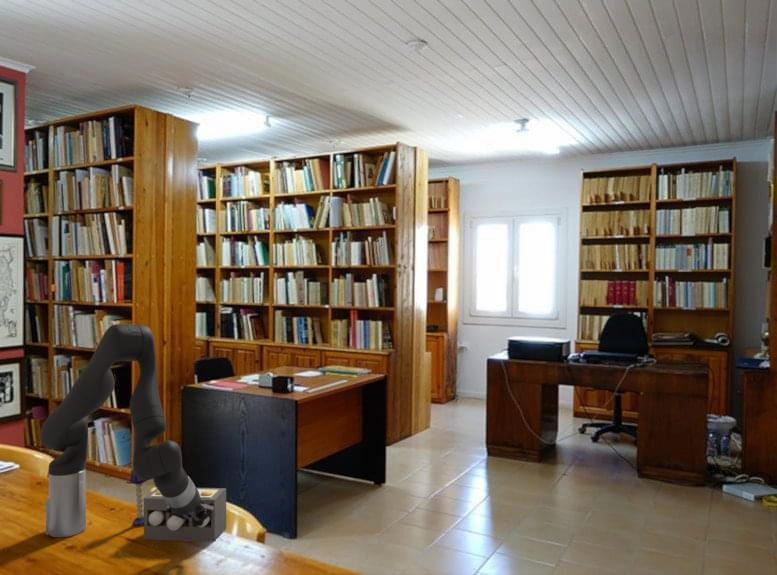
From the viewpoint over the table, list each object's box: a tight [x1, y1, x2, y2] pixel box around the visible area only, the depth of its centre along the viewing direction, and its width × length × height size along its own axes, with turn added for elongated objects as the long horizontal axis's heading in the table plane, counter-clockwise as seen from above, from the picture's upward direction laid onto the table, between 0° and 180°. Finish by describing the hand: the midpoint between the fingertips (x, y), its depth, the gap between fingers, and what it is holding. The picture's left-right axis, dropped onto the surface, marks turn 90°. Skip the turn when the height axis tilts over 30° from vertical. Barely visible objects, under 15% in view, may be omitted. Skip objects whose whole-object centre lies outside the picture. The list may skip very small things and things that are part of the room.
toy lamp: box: [129, 468, 147, 527], centre depth 173 cm, size 5×5×17 cm
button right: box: [198, 515, 211, 527], centre depth 164 cm, size 4×6×4 cm, turn 176°
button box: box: [143, 487, 227, 542], centre depth 166 cm, size 20×9×12 cm, turn 86°
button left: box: [149, 510, 166, 526], centre depth 165 cm, size 4×6×4 cm, turn 176°
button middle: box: [167, 515, 187, 531], centre depth 162 cm, size 4×6×4 cm, turn 176°
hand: (199, 522), depth 160 cm, fingers closed
